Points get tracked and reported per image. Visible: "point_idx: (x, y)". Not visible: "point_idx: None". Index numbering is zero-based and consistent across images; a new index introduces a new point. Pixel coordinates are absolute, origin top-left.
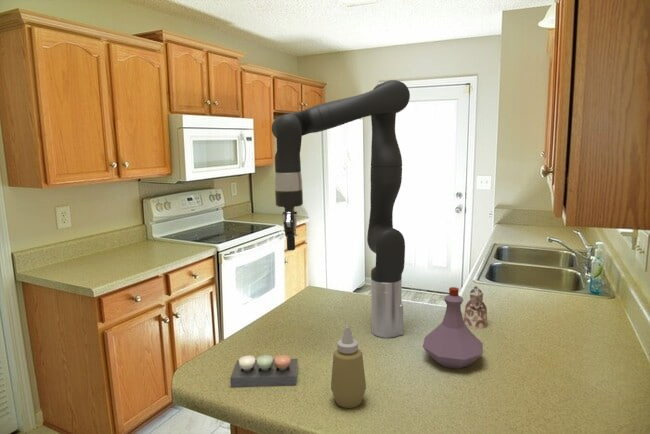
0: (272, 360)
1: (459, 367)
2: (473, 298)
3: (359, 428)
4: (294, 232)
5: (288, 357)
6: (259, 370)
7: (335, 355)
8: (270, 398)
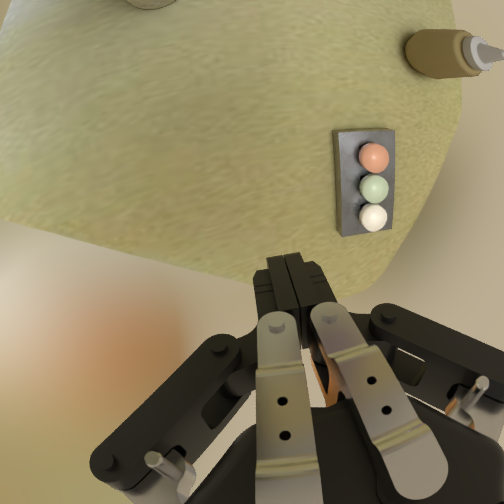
0: (377, 175)
1: None
2: None
3: None
4: (349, 329)
5: (374, 148)
6: None
7: (477, 74)
8: (414, 161)
